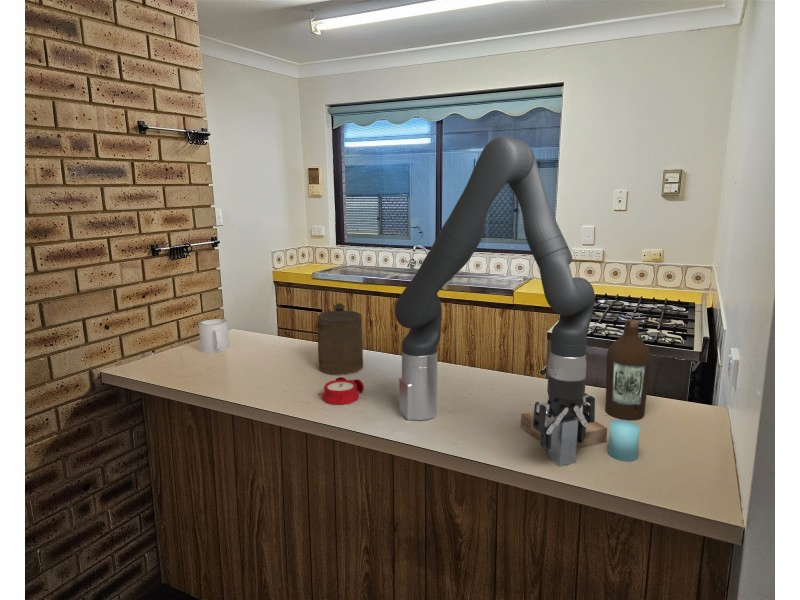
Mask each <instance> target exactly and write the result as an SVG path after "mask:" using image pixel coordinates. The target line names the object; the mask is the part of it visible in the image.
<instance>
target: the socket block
mask: <svg viewBox="0 0 800 600" xmlns="http://www.w3.org/2000/svg"><path fill="white" fill-rule="evenodd" d="M548 410H549V409H548ZM548 410H547V411H548ZM533 417H534V411H530V412H525V413H521V414H520V428H521V429H522V428H523V430H524V431H525V432H526V433H528V434H529V435H531V436H532V437H533V438H535V439H536V440H537V441H539V442H540V441H541V440H540V439H541V433H540V432H538V431H537V430H536V429H534V428H533ZM549 424H550V423H549ZM549 424H548V425H547V427H548V426H549ZM607 436H608V427H607V426H604V425H603V424H601V423H599V421H596V420H594V422H593V423H591V422H590V423H588V425H587V426H586V430H585V439H584V441H583V443H579V442H577V445H576V450H577V449H580V448H581V449H582V448H585V447H589V446H590V447H591V446H594V445H598V444H604V443H607V440H608V439H607Z"/></svg>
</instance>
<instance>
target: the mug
mask: <svg viewBox="0 0 800 600" xmlns="http://www.w3.org/2000/svg"><path fill="white" fill-rule="evenodd" d="M228 327H229V325H228V320H227V319H226V318H225V319H223V318H212V319H205V320H201V321H200V322H198V331H199V344H200V351H202V352H201V353H203V352H205V354H215V353H214V352H219V353H221V352H220V351H224V350H226V349H228V348H229V349H230V338H229V328H228ZM229 349H228V350H229ZM226 351H227V350H226ZM224 352H225V351H224Z"/></svg>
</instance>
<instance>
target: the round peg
mask: <svg viewBox="0 0 800 600" xmlns="http://www.w3.org/2000/svg"><path fill="white" fill-rule="evenodd" d="M609 422H610V423H609V434H608V446H607V454H608V456H609V457H611V458H613V459H614V460H616V461H619V462H624V463H625V462H626V463H628V462H629V463H631V462H635V461H637V460H638V453H639V446H640V445H639V444H640V443H639V442H640V433H641V427H640V425H639V424H638V423H636V422H633V421H632V420H625V419H613V420H611V421H609Z"/></svg>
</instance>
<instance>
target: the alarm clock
mask: <svg viewBox="0 0 800 600" xmlns="http://www.w3.org/2000/svg"><path fill="white" fill-rule="evenodd" d="M323 390H324V392H321V393H318V396H320V395H322V401H323V402H324V401H325V403H326V404H329V405H330V404H334V405H336V404H340V405H347V404H353V403H354V402H356V401H357V400H359V398H360V394H362V393H363V392H364V390H365V385H364V382H363V380H361V379H357V378H356V379H347V378H345V377H343V376H342V377H341V376H339V377H337V378H335V379H334V380H330V381H327V382H326V383H325V385H324V387H323ZM358 392H360V394H359V393H358Z"/></svg>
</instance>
